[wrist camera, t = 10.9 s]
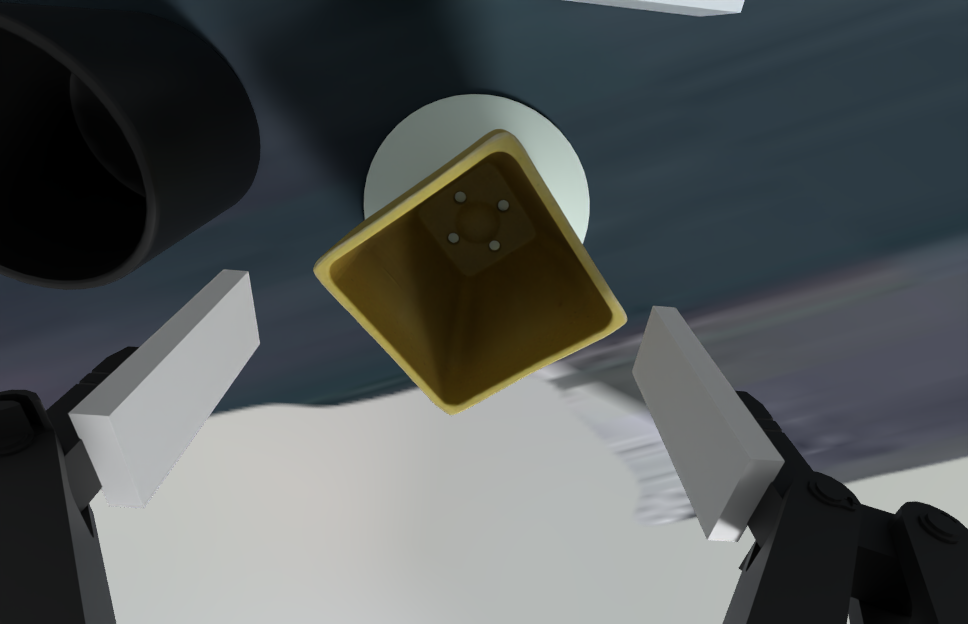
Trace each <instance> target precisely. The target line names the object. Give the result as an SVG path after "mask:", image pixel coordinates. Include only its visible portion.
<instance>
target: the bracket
mask: <svg viewBox="0 0 968 624" xmlns="http://www.w3.org/2000/svg"><path fill="white" fill-rule="evenodd" d="M567 1H575V2H583V3H592V4H600V5H608V6H617V7H625V8H634V9H642V10H650V11H659V12H667V13H675V14H684V15H692V16H711V15H721V14H732V13H741V10H742V7H743V3H744V0H567Z"/></svg>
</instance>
